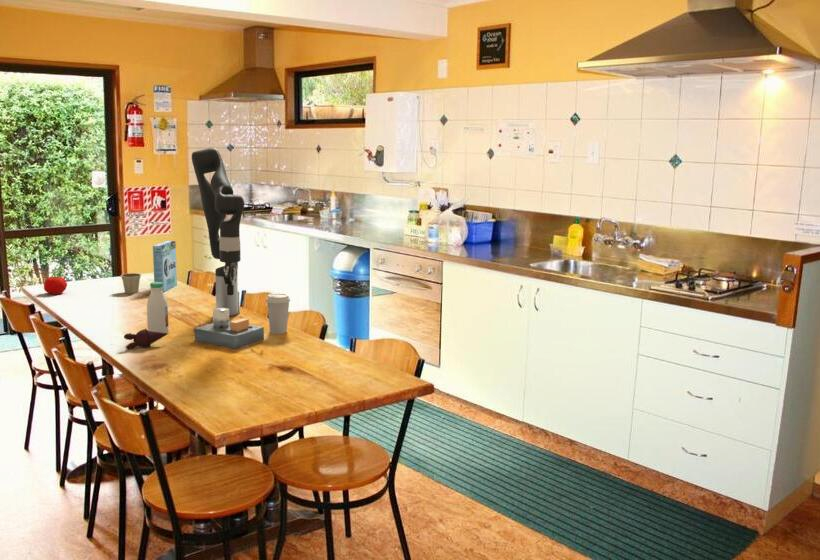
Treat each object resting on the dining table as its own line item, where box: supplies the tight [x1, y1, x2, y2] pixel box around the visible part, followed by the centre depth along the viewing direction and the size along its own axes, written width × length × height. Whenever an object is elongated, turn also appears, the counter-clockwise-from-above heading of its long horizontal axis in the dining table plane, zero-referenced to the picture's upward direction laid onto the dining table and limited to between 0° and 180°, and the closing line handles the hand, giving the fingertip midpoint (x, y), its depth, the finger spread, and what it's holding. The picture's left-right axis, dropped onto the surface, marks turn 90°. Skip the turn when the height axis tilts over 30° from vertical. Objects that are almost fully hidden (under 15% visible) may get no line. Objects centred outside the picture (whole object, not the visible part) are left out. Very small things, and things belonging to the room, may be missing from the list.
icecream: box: [123, 328, 168, 350], centre depth 272 cm, size 7×7×15 cm
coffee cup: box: [265, 292, 291, 335], centre depth 296 cm, size 10×10×15 cm
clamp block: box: [230, 317, 250, 332], centre depth 280 cm, size 7×3×3 cm, turn 151°
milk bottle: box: [146, 281, 169, 334], centre depth 290 cm, size 8×8×20 cm
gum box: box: [152, 240, 178, 293], centre depth 373 cm, size 20×5×23 cm, turn 178°
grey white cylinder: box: [212, 308, 230, 328], centre depth 284 cm, size 6×6×11 cm
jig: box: [193, 320, 265, 350], centre depth 283 cm, size 16×20×6 cm
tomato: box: [43, 276, 68, 295], centre depth 356 cm, size 9×10×8 cm
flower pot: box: [120, 272, 142, 295], centre depth 363 cm, size 9×9×9 cm
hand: (230, 294), depth 279 cm, fingers closed
